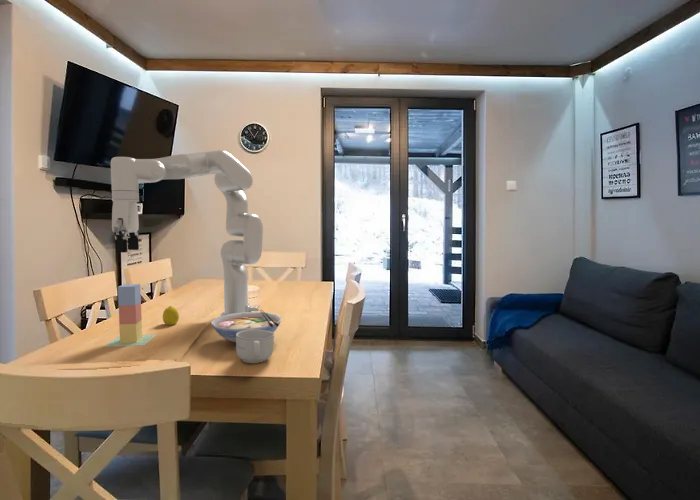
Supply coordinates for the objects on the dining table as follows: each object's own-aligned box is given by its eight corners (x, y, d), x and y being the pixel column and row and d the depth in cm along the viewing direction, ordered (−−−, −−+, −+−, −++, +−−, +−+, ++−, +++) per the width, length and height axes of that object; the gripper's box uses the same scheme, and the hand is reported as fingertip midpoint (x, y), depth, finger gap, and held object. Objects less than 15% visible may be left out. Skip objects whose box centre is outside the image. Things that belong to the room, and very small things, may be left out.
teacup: (239, 354, 126) (239, 328, 126) (276, 353, 127) (276, 327, 127) (230, 371, 112) (230, 342, 112) (271, 370, 113) (271, 341, 113)
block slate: (140, 302, 138) (140, 284, 137) (135, 305, 133) (134, 286, 132) (124, 302, 137) (124, 284, 137) (118, 305, 132) (117, 286, 132)
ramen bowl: (209, 334, 147) (209, 311, 146) (274, 328, 155) (274, 307, 154) (213, 357, 124) (212, 330, 123) (289, 348, 132) (289, 323, 131)
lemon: (173, 329, 154) (172, 308, 153) (159, 328, 155) (159, 307, 154) (182, 325, 159) (181, 304, 158) (169, 324, 160) (168, 304, 159)
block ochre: (142, 337, 139) (141, 320, 138) (136, 342, 134) (136, 323, 133) (126, 338, 138) (125, 320, 138) (120, 342, 133) (119, 324, 133)
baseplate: (156, 337, 143) (156, 334, 143) (144, 348, 131) (144, 345, 131) (119, 339, 141) (118, 335, 141) (103, 350, 129) (103, 346, 129)
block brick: (141, 319, 138) (141, 302, 138) (136, 323, 133) (135, 305, 133) (125, 320, 138) (124, 302, 137) (119, 324, 133) (118, 305, 132)
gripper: (123, 198, 140) (125, 249, 142) (100, 195, 123) (103, 253, 125) (147, 198, 141) (149, 248, 143) (128, 195, 124) (130, 253, 126)
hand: (127, 251), depth 134 cm, fingers open, 9 cm apart
